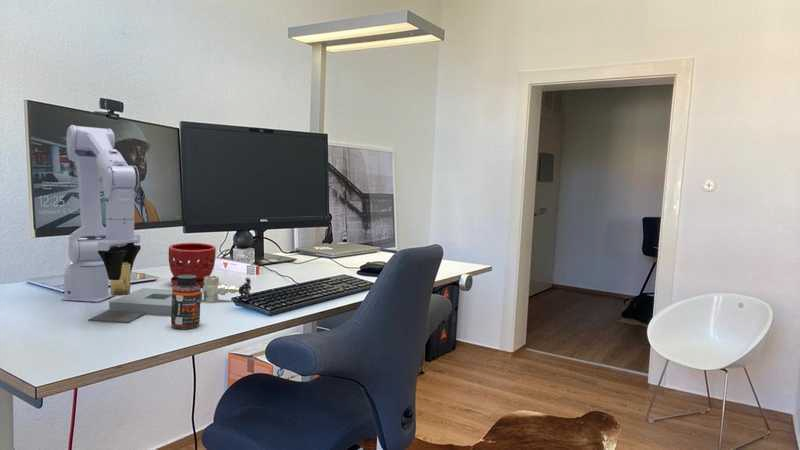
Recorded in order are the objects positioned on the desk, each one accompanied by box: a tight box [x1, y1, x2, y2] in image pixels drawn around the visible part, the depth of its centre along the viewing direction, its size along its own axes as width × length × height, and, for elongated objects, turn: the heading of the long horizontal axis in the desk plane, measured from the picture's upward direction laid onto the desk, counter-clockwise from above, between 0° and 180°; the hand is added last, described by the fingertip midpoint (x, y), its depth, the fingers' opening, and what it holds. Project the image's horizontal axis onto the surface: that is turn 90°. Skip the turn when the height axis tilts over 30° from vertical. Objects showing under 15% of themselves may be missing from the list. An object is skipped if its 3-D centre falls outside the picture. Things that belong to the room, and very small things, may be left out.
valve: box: [202, 275, 252, 304], centre depth 142 cm, size 7×7×12 cm
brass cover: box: [109, 261, 131, 297], centre depth 121 cm, size 4×4×7 cm
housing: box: [108, 287, 203, 317], centre depth 133 cm, size 16×16×2 cm
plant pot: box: [168, 242, 217, 288], centre depth 158 cm, size 13×13×12 cm
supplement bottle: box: [170, 275, 202, 330], centre depth 118 cm, size 6×6×11 cm
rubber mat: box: [87, 309, 145, 324], centre depth 122 cm, size 9×9×1 cm
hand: (119, 277), depth 121 cm, fingers closed on brass cover, 4 cm apart
